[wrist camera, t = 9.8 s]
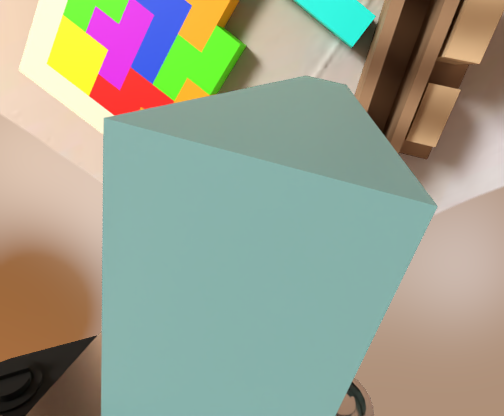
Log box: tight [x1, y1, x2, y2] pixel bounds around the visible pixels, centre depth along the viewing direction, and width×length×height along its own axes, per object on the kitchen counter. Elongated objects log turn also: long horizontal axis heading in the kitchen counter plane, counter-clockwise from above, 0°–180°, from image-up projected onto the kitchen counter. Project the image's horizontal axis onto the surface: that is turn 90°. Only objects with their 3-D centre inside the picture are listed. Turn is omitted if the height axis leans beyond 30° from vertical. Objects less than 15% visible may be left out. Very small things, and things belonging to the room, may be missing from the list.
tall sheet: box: [101, 76, 437, 416], centre depth 12 cm, size 12×2×16 cm, turn 168°
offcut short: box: [405, 83, 461, 147], centre depth 31 cm, size 5×3×4 cm, turn 168°
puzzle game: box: [19, 0, 376, 134], centre depth 35 cm, size 30×3×30 cm
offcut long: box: [436, 0, 504, 65], centre depth 27 cm, size 6×3×6 cm, turn 168°
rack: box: [355, 0, 469, 159], centre depth 30 cm, size 16×9×6 cm, turn 168°
